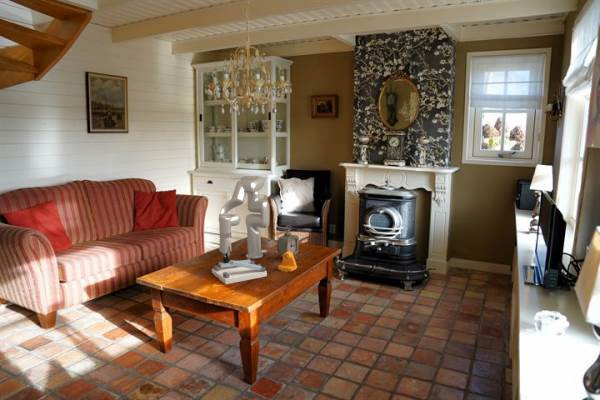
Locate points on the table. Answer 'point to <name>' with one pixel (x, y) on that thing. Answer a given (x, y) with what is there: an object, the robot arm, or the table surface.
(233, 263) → the lever
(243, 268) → the board
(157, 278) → the table surface
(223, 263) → the lever
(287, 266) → the bracket
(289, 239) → the tabletop clock
